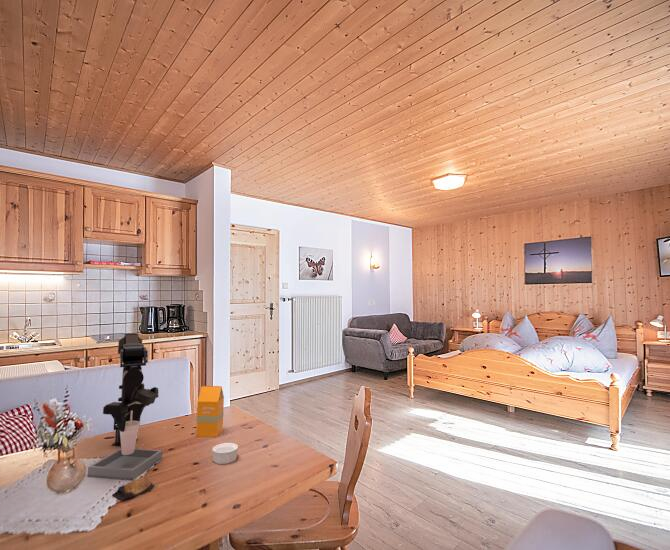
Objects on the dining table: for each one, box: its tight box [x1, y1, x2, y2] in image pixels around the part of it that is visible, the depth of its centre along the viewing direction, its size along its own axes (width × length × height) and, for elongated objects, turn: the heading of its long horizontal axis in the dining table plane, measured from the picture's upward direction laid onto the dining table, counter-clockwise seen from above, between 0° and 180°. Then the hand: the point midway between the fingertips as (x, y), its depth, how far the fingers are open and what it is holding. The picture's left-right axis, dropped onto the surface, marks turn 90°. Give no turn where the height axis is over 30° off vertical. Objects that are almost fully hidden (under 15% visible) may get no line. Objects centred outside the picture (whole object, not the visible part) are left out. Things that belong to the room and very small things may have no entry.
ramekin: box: [211, 442, 239, 465], centre depth 131 cm, size 9×9×4 cm
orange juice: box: [195, 385, 225, 438], centre depth 156 cm, size 8×9×20 cm
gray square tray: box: [87, 448, 163, 481], centre depth 123 cm, size 16×16×3 cm
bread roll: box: [111, 477, 158, 503], centre depth 108 cm, size 11×8×4 cm
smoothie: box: [120, 410, 141, 455], centre depth 124 cm, size 6×6×14 cm
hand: (129, 428), depth 124 cm, fingers closed on smoothie, 6 cm apart
